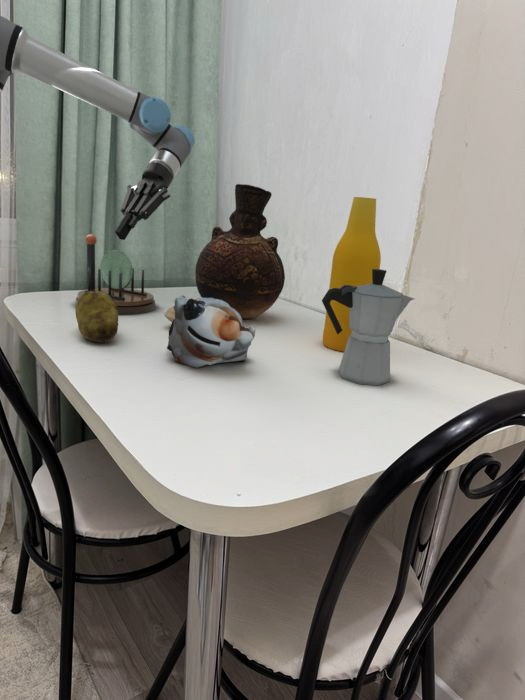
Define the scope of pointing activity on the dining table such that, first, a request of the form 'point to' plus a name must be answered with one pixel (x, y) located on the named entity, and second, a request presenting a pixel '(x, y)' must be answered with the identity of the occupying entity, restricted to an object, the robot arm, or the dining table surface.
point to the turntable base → (133, 308)
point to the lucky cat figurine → (207, 332)
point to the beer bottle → (352, 265)
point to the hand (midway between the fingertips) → (119, 235)
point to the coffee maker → (367, 328)
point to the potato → (97, 316)
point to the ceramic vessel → (242, 258)
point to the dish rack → (114, 277)
